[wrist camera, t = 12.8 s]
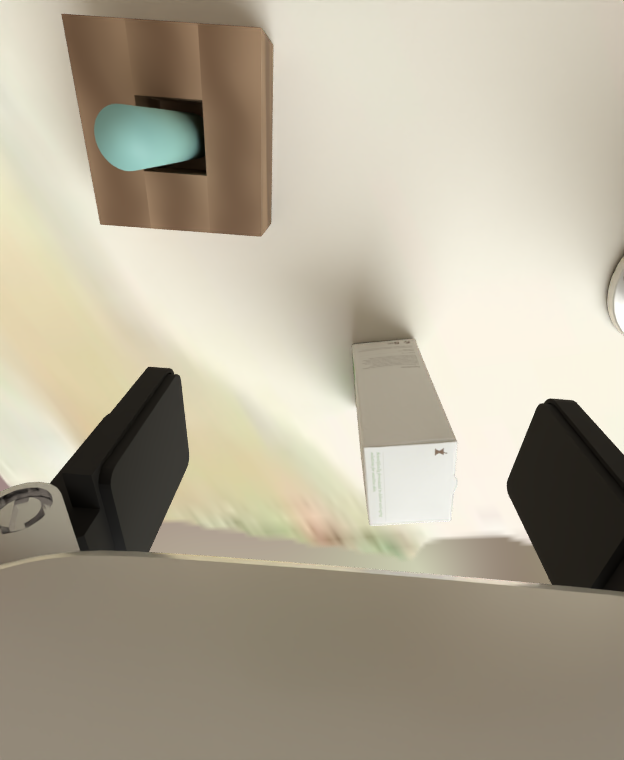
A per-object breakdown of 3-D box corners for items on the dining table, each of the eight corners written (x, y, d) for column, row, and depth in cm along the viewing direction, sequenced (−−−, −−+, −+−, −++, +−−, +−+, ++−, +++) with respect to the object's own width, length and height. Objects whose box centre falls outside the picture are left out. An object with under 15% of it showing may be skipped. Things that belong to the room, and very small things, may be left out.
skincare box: (351, 341, 41) (358, 442, 27) (420, 335, 40) (462, 435, 27) (356, 412, 45) (365, 529, 32) (419, 408, 44) (455, 526, 31)
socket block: (273, 45, 30) (261, 27, 25) (271, 223, 36) (261, 236, 31) (105, 33, 30) (61, 13, 25) (131, 212, 36) (100, 224, 31)
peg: (211, 114, 31) (148, 105, 21) (214, 160, 32) (156, 173, 22) (171, 111, 31) (88, 101, 21) (175, 157, 33) (100, 168, 22)
